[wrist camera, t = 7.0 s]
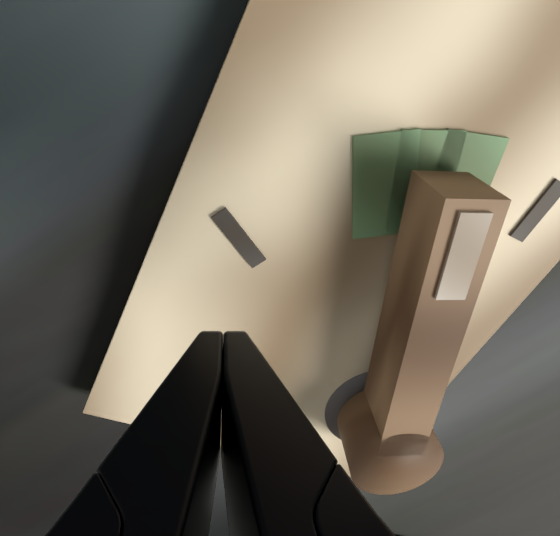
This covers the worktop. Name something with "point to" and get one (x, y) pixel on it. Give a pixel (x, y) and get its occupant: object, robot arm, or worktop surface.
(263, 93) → the dial plate
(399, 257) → the walnut lever
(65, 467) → the worktop surface
